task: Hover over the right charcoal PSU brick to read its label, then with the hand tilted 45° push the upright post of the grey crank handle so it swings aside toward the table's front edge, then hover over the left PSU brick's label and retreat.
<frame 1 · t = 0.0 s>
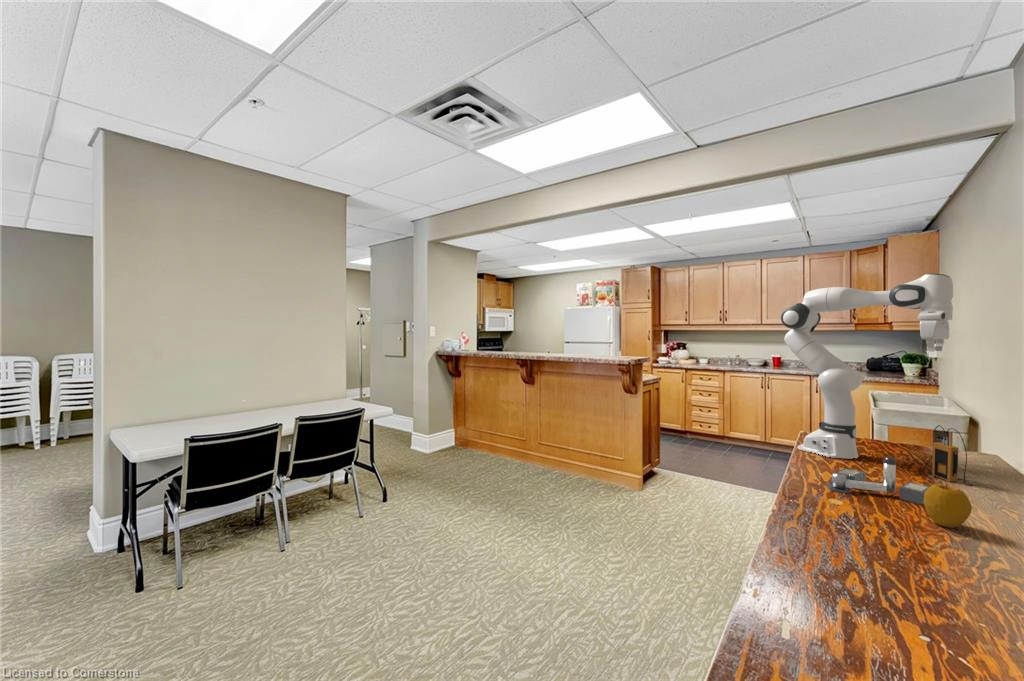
hand: (934, 351, 166), 48 cm above the worktop, tool pointing down, fingers open, 8 cm apart
psu a: (916, 499, 143), on the worktop
psu b: (850, 483, 157), on the worktop
multimeter: (953, 479, 162), on the worktop
grey crank handle: (863, 471, 148), point 7 cm above the worktop, hinge at 0.0°
arm mount: (838, 489, 151), on the worktop
apple: (946, 525, 124), on the worktop
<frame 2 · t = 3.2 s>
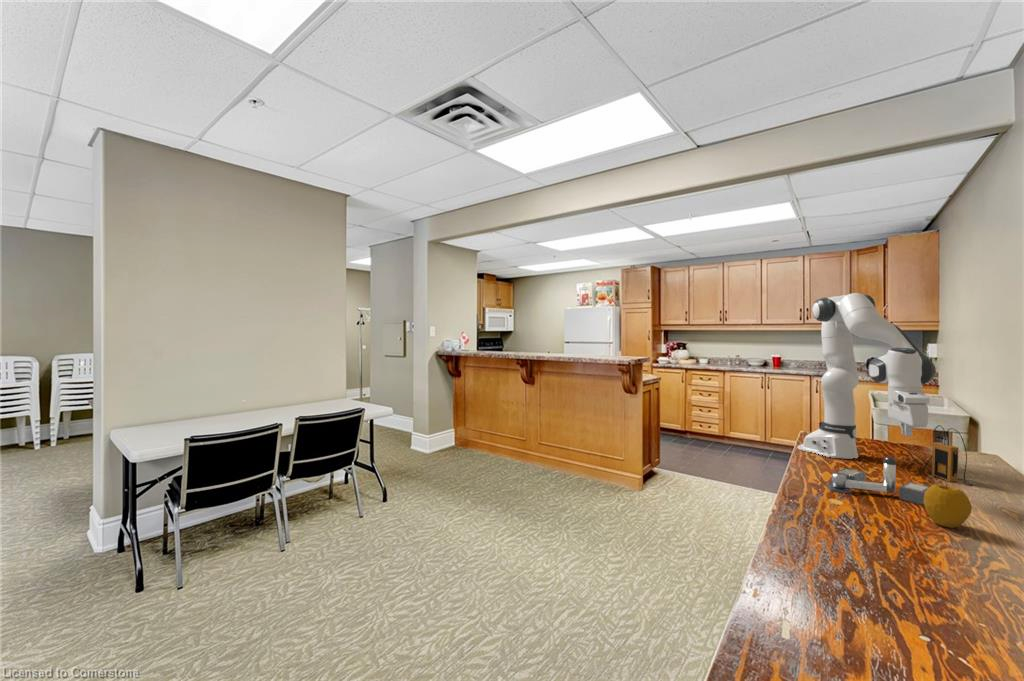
hand: (906, 435, 147), 20 cm above the worktop, tool pointing down, fingers closed
nothing on the worktop moved.
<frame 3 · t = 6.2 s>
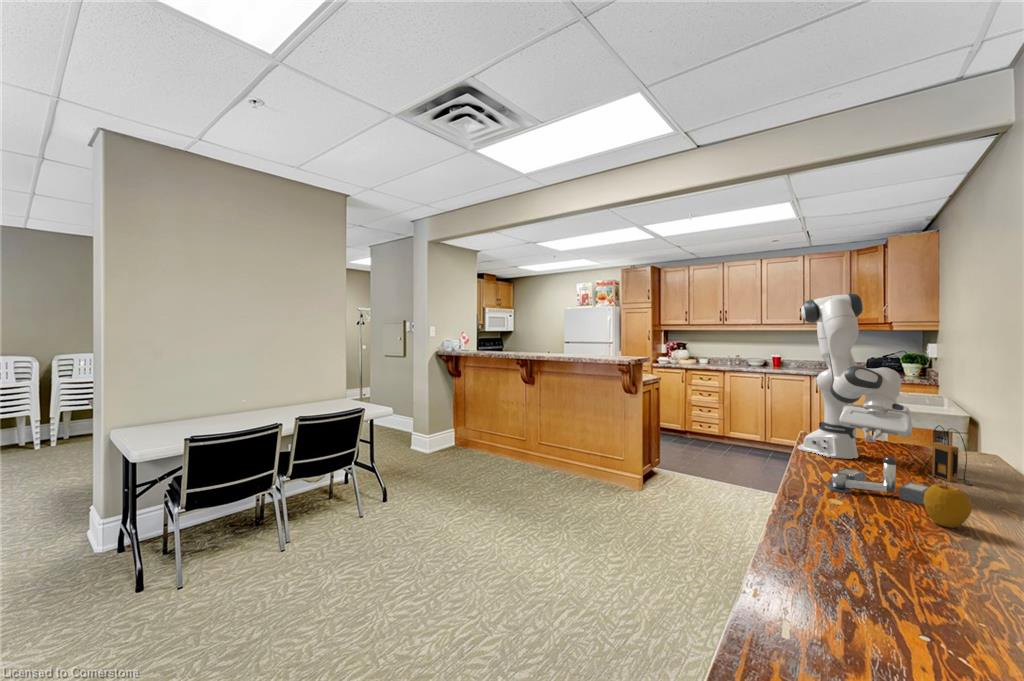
hand: (869, 440, 154), 17 cm above the worktop, tool tilted 40°, fingers closed
nothing on the worktop moved.
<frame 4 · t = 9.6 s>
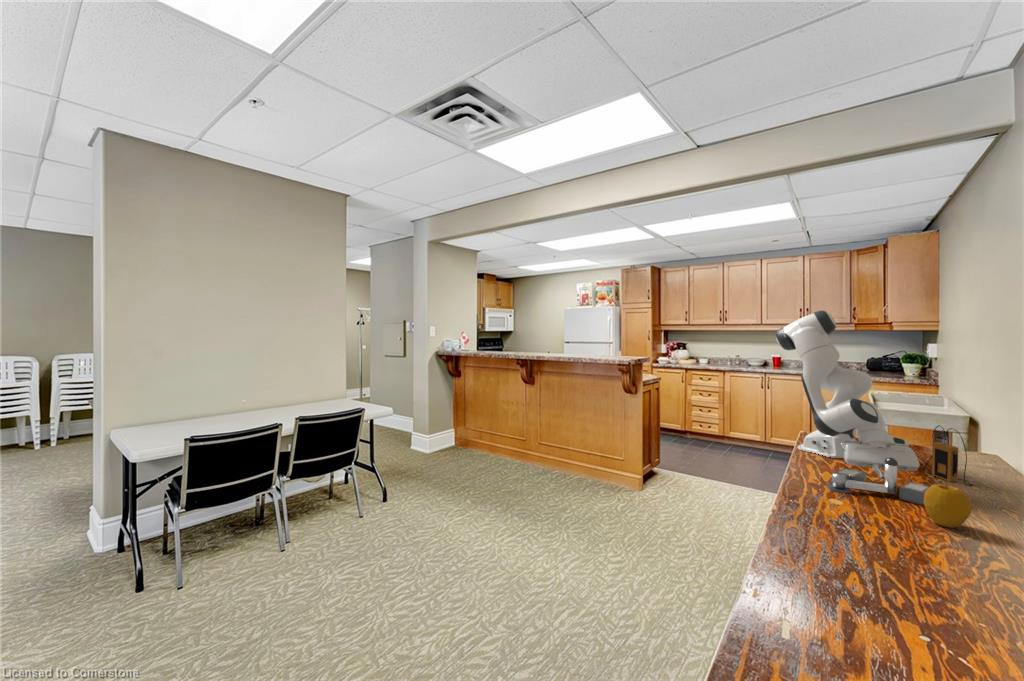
hand: (885, 478, 147), 5 cm above the worktop, tool tilted 45°, fingers closed
grey crank handle: (863, 472, 148), point 7 cm above the worktop, hinge at -4.7°, touching gripper
everything else where it was.
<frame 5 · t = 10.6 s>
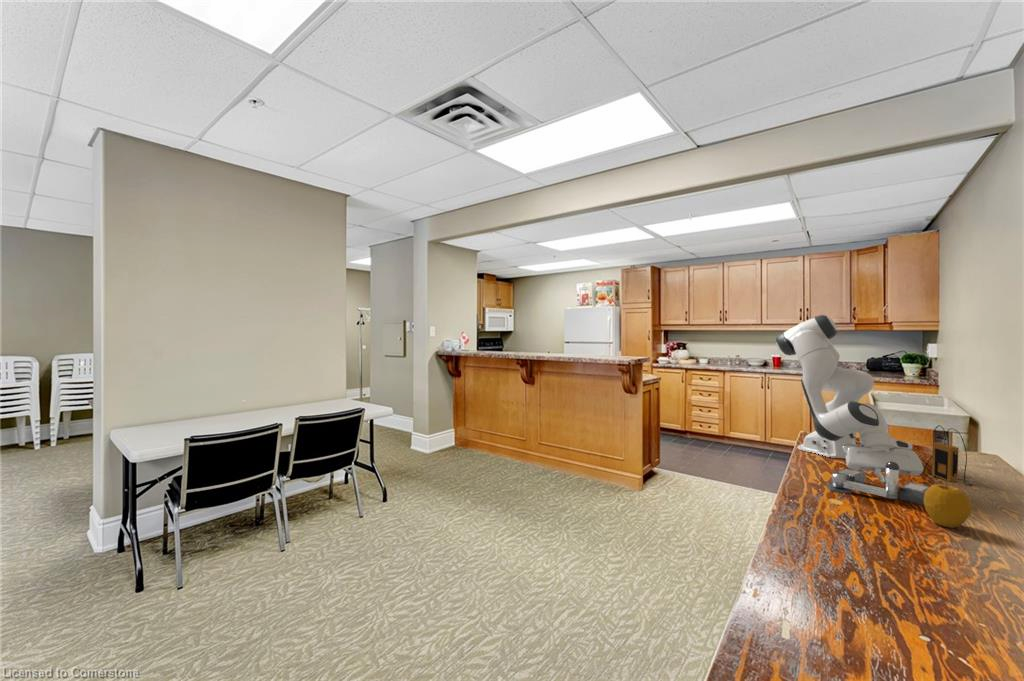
hand: (888, 483, 142), 5 cm above the worktop, tool tilted 45°, fingers closed, pressing on grey crank handle
grey crank handle: (864, 474, 146), point 7 cm above the worktop, hinge at -27.0°, touching gripper
everything else where it was.
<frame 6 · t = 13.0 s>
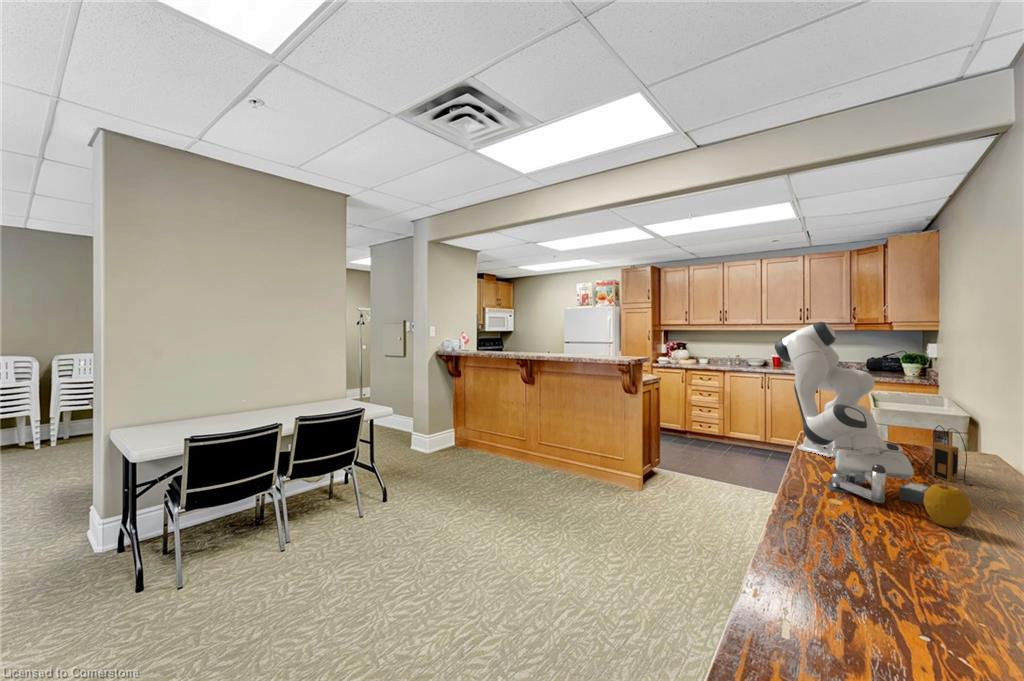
hand: (878, 487, 139), 5 cm above the worktop, tool tilted 45°, fingers closed
grey crank handle: (857, 475, 144), point 7 cm above the worktop, hinge at -59.6°, touching gripper
everything else where it was.
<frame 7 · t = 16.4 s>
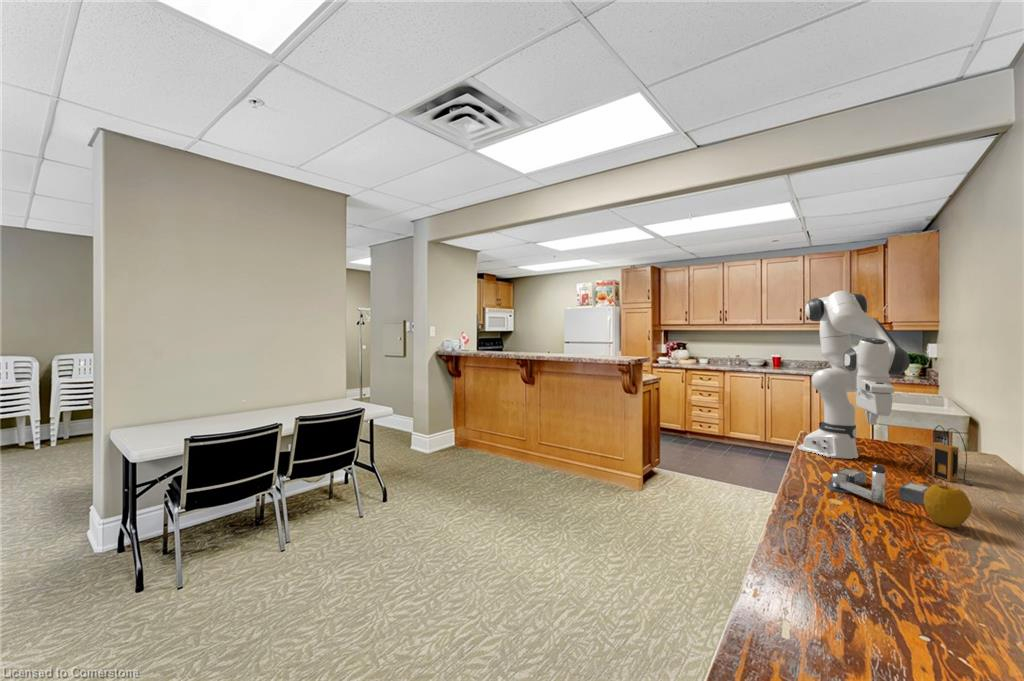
hand: (871, 423, 151), 23 cm above the worktop, tool pointing down, fingers closed
grey crank handle: (857, 475, 144), point 7 cm above the worktop, hinge at -59.6°
everything else where it was.
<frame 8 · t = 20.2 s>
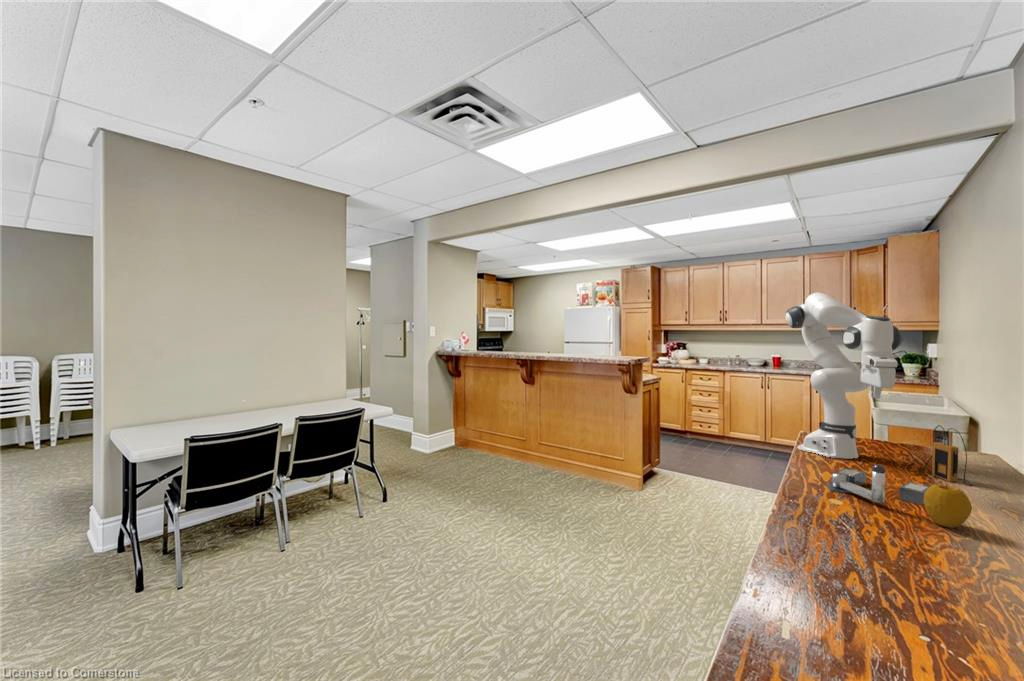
hand: (875, 397, 158), 31 cm above the worktop, tool pointing down, fingers closed
nothing on the worktop moved.
at the end: grey crank handle at -60° (first picture: +0°); grey crank handle touching nothing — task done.
